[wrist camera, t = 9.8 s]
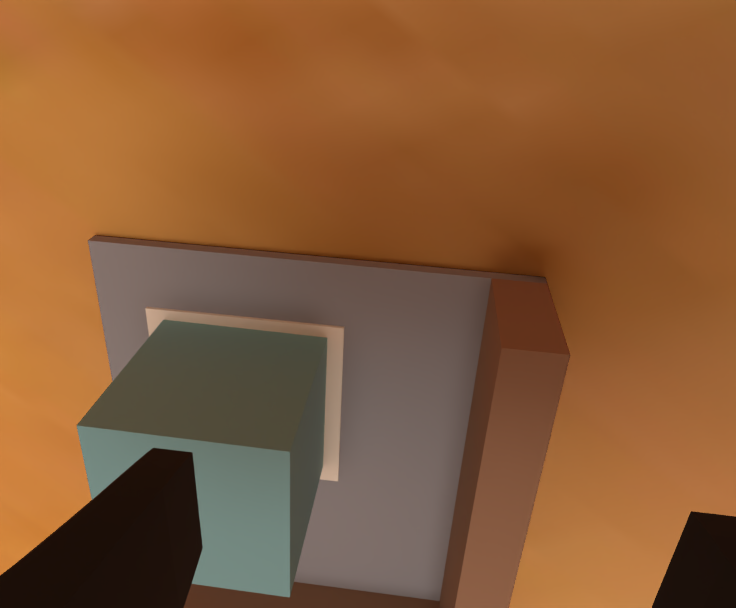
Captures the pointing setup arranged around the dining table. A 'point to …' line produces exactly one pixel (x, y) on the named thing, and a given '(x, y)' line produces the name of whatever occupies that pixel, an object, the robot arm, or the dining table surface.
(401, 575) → the tray
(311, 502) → the teal cube
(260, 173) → the dining table surface
